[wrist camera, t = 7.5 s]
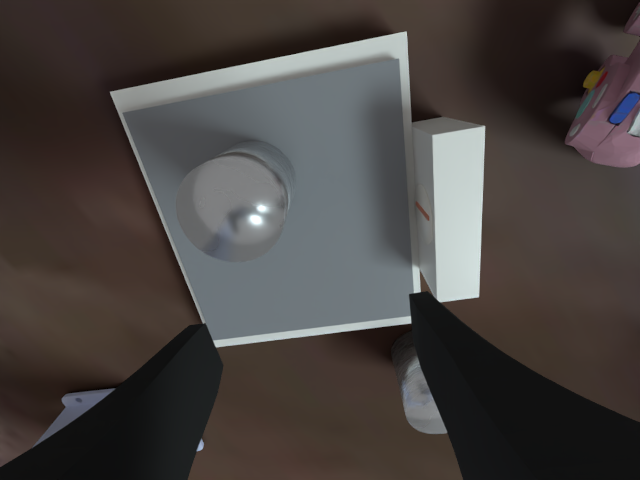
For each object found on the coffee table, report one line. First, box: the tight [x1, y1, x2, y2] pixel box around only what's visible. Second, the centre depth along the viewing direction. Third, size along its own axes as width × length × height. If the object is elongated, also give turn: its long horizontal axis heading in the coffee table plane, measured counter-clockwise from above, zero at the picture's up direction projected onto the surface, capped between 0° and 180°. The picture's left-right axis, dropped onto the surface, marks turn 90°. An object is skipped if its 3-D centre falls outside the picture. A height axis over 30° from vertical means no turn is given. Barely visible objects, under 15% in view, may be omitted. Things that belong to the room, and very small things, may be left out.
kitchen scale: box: [110, 31, 485, 347], centre depth 17 cm, size 16×16×5 cm
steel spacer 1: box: [176, 140, 296, 262], centre depth 14 cm, size 4×4×5 cm
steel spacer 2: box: [391, 331, 447, 434], centre depth 21 cm, size 4×4×5 cm
